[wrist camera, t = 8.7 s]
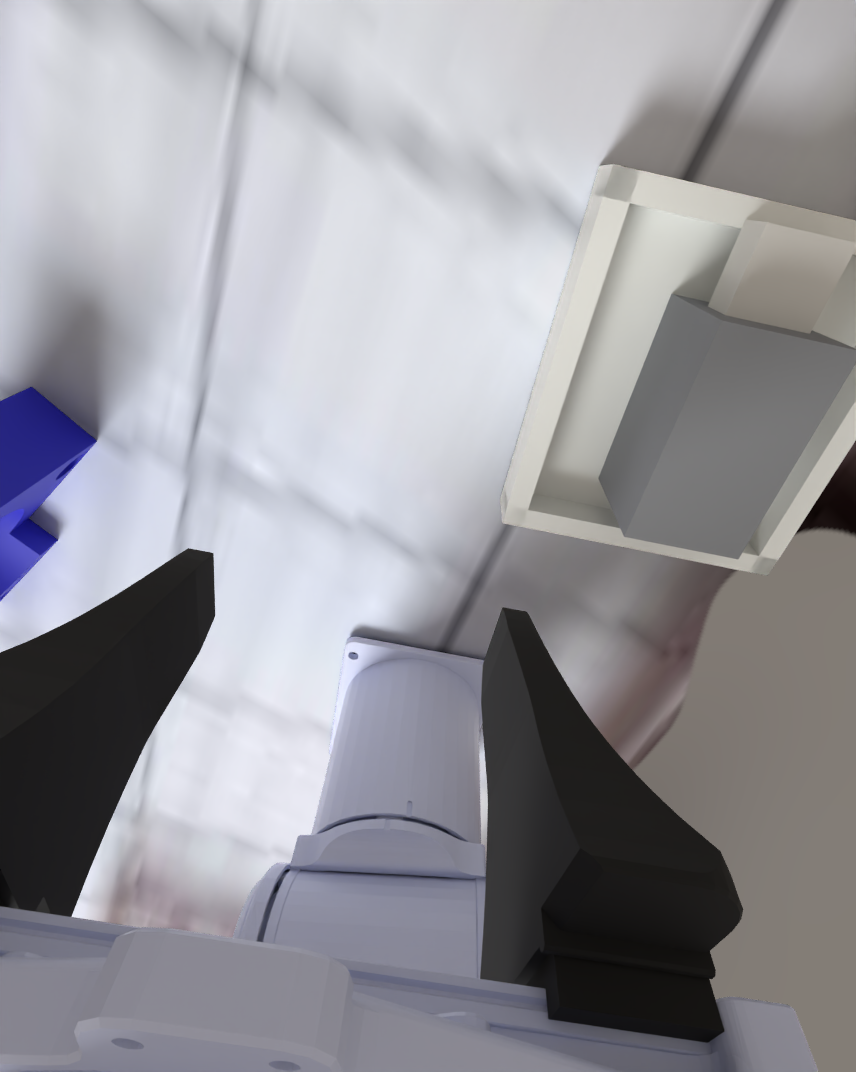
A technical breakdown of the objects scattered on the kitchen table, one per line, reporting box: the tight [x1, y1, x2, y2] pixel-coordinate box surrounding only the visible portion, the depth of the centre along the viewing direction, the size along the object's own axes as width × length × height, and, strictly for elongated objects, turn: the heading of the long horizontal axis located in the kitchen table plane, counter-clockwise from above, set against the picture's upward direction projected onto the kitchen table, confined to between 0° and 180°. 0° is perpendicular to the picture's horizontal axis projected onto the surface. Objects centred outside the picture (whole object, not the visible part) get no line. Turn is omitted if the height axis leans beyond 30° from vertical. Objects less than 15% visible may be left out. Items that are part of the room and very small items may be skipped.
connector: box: [598, 220, 856, 559], centre depth 18 cm, size 9×4×4 cm, turn 169°
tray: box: [500, 164, 856, 576], centre depth 20 cm, size 12×11×2 cm
